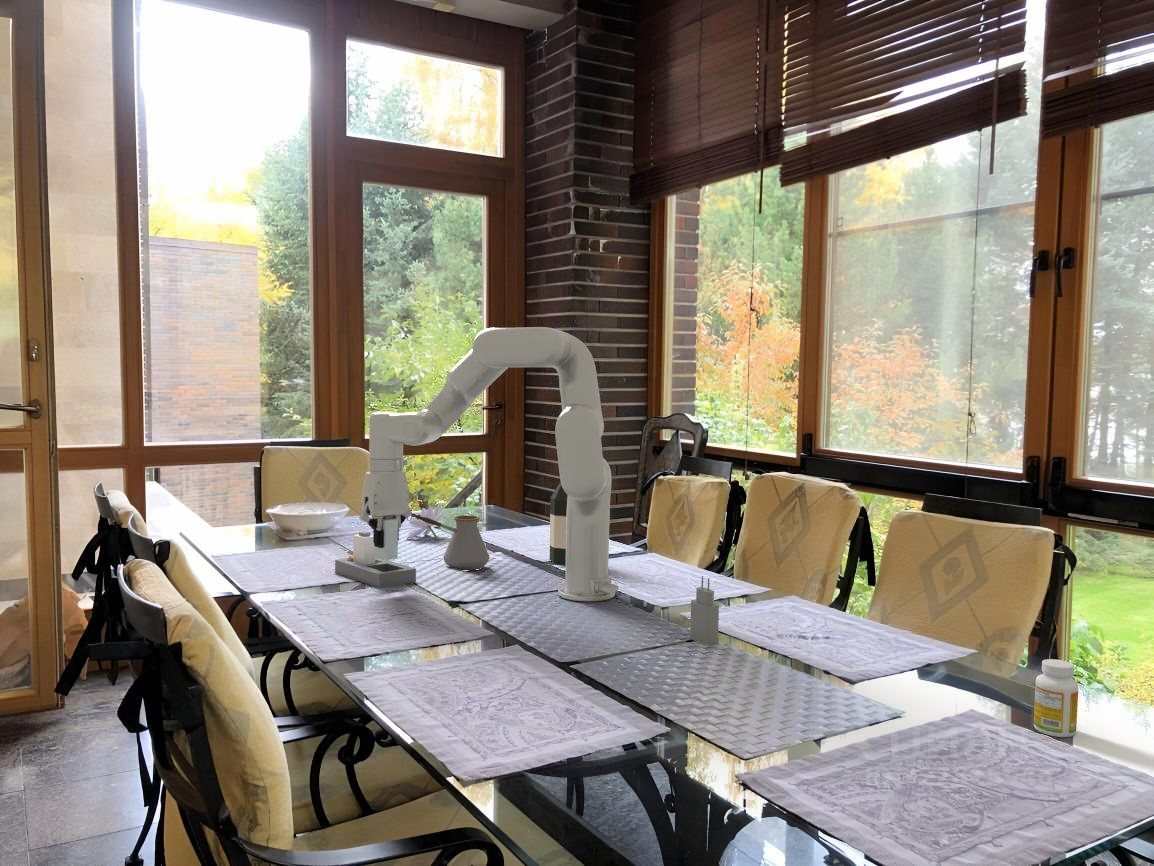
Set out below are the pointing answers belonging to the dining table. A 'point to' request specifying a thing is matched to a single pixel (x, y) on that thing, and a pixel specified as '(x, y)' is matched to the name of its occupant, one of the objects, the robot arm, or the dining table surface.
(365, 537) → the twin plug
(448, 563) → the coffee pot
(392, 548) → the plug
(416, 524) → the water lily
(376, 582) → the grey socket block
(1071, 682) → the supplement bottle
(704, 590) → the power adapter
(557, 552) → the wine bottle
